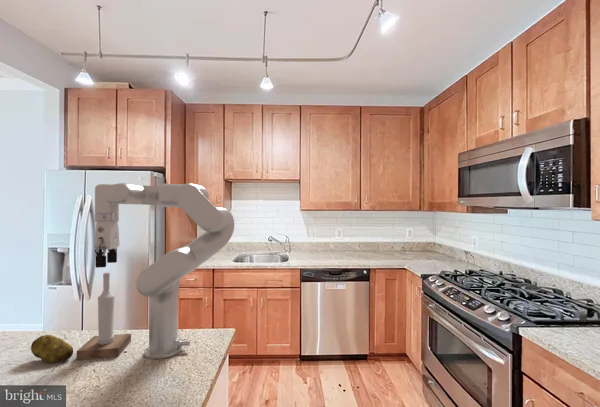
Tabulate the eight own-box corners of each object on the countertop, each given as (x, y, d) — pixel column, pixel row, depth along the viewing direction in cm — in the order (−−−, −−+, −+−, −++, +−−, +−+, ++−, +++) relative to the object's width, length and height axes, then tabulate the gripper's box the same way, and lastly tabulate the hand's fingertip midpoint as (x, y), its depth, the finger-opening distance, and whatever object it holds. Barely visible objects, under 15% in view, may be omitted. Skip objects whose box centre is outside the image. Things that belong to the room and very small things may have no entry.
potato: (49, 369, 101) (49, 344, 101) (26, 362, 106) (26, 338, 106) (76, 358, 109) (76, 335, 109) (53, 351, 114) (53, 329, 114)
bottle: (102, 339, 117) (102, 271, 118) (116, 338, 118) (117, 271, 118) (94, 345, 112) (95, 274, 113) (109, 344, 113) (110, 274, 113)
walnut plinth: (130, 341, 123) (130, 333, 123) (118, 356, 110) (118, 348, 110) (94, 344, 120) (94, 336, 120) (76, 360, 108) (76, 351, 108)
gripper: (108, 218, 108) (108, 268, 108) (126, 217, 125) (126, 260, 125) (84, 218, 107) (83, 269, 106) (105, 217, 124) (105, 261, 123)
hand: (106, 264), depth 116 cm, fingers open, 9 cm apart
